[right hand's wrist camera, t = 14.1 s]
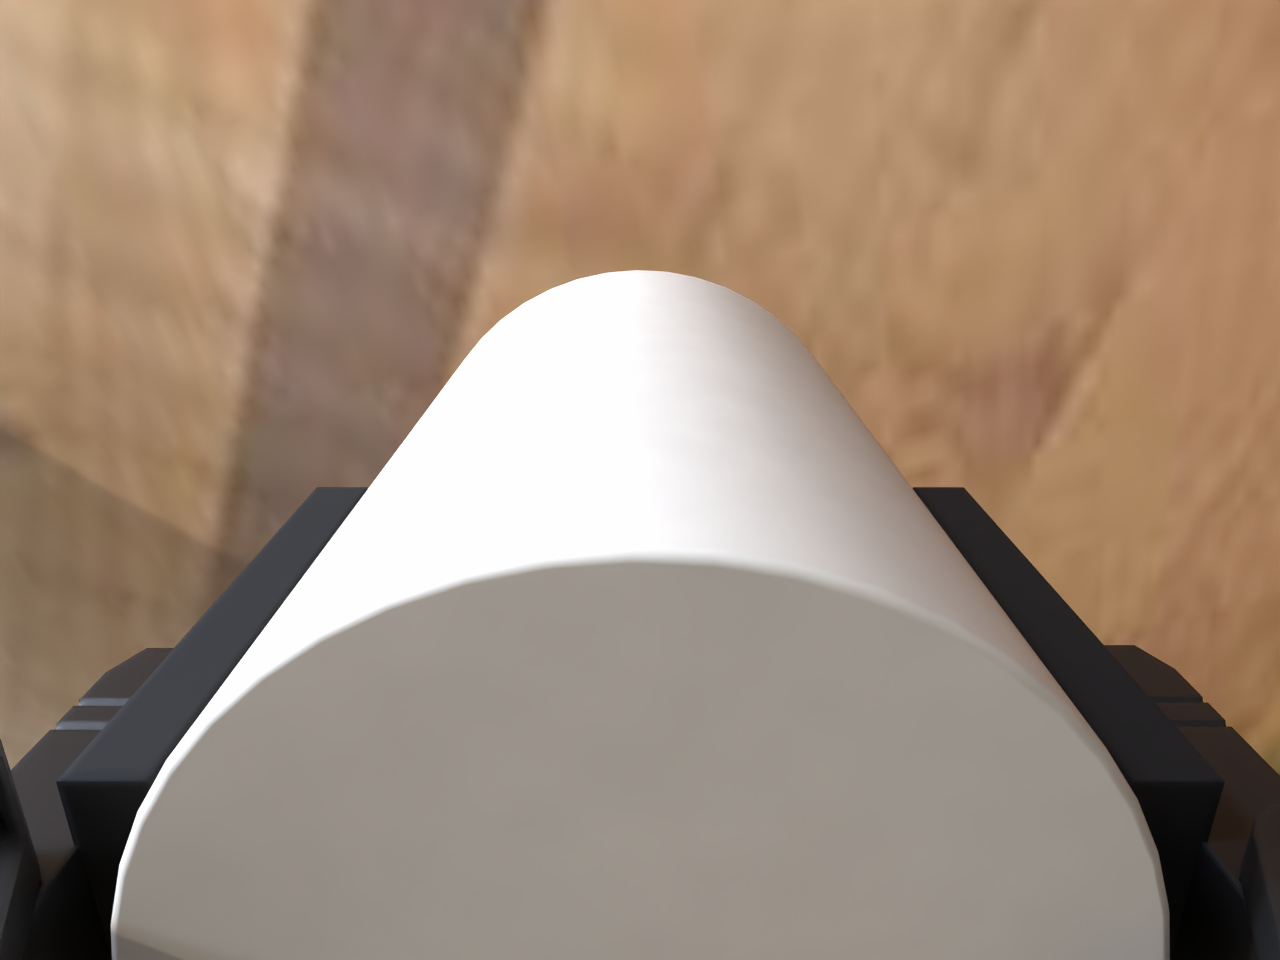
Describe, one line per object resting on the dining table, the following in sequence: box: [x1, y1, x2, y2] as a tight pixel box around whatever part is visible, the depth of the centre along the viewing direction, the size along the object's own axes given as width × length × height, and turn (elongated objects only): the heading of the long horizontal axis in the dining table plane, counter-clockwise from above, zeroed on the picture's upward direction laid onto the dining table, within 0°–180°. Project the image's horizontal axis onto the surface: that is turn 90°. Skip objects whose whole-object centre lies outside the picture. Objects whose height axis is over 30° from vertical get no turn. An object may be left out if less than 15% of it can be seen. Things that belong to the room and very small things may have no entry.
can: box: [111, 270, 1170, 960], centre depth 12 cm, size 8×8×12 cm
